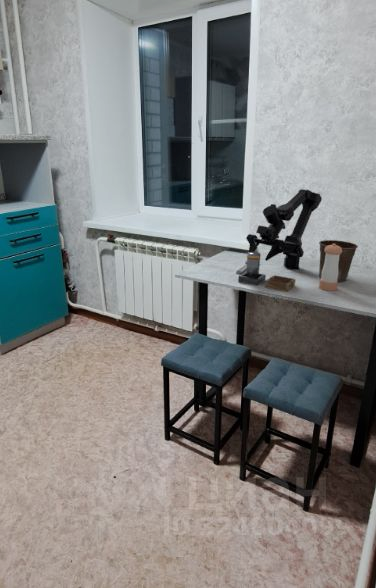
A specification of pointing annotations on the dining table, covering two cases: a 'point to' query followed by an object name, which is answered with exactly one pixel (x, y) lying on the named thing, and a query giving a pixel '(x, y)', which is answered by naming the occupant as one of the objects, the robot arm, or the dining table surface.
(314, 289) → the dining table surface
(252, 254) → the brass-banded metal cylinder
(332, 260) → the pepper shaker
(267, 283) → the wooden square frame
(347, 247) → the plant pot
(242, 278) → the socket block
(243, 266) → the adjustable wrench
